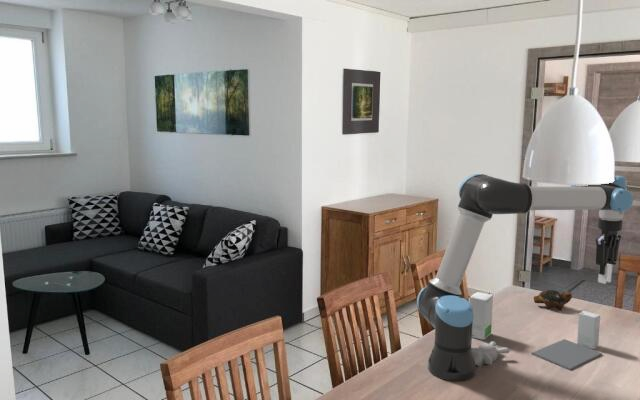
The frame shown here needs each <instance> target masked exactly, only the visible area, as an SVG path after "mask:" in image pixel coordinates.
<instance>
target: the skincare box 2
mask: <svg viewBox="0 0 640 400" xmlns="http://www.w3.org/2000/svg"><path fill="white" fill-rule="evenodd" d="M600 323H601V315H600V314H597V313H593V312H590V311H586V310H583V311H581V312H579V313H578V321H577V324H578V325H577V337H576V338H577V340H576V344H579V345H582V346H584V347H587V348H590V349H592V350H596V349H597V348H598V347H599V341H600V328H601V326H600Z"/></svg>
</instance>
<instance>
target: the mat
mask: <svg viewBox="0 0 640 400" xmlns="http://www.w3.org/2000/svg"><path fill="white" fill-rule="evenodd" d="M531 355H533V356H535V357H537V358H540V359H542V360H545V361H547V362H549V363H552V364H554V365H557V366H559V367H561V368H563V369H566V370H569V371H572V370H573V369H575V368H577V367H579V366H581V365H584V364H585V363H588V362H590V361H592V360H594V359H596V358H598V357H600V356H602V355H603V352H601V351H599V350H598V351H597V350H596V349H591V348H588V347H585V346H582V345H579V344H577V342H574V341H570V340H568V339H565V338H563V339H561V340H559V341H556V342H554V343H552V344H549V345H547V346H545V347H543V348H542V347H541V348H540V349H538V350H535V351H533V352H531Z"/></svg>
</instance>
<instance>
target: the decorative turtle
mask: <svg viewBox="0 0 640 400" xmlns="http://www.w3.org/2000/svg"><path fill="white" fill-rule="evenodd" d="M572 298H573V295H572V293H571V292H570V291H563V292H562V293H561V292H560V291H557V290H555V289H547V290H544V291H541V292H539V294H538V295H535V296H533V298H532V299H533V302H534V303H535V304H544V305H545V307H546V309H547V310H552V309H553V308H555V309H556V310H557V311H559V312H561V311H562V310H563V309H564V307H565V305H567V304H568V303H569V302H570V301H571V300H572Z"/></svg>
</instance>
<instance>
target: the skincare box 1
mask: <svg viewBox="0 0 640 400" xmlns="http://www.w3.org/2000/svg"><path fill="white" fill-rule="evenodd" d="M493 300H494V294H490V293H485V292H481V291H477V292H475V293H473V294H472V295H471V296H470V297H469V302H470V303H471V305H472V307H473V315H474V318H473V327H472V338H474V339H477V340H481V341H485V340H486V339H487V338H488V337H490V335H491V334H492V324H493V323H492V321H493V307H494V306H493V302H494V301H493Z"/></svg>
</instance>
